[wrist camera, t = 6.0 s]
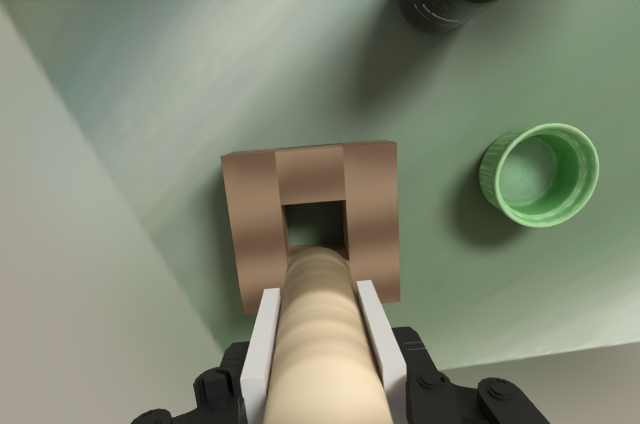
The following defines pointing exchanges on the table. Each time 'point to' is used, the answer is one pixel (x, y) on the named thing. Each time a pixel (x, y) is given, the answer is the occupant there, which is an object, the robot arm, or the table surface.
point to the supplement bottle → (442, 13)
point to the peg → (323, 349)
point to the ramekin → (540, 174)
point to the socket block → (306, 187)
